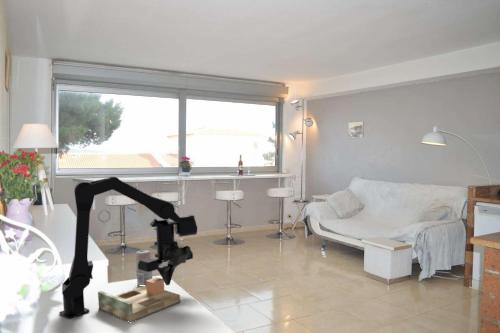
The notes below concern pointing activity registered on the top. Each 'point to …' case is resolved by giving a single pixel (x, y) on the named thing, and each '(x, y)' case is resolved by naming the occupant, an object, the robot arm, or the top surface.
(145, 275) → the energy drink
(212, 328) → the top surface
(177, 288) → the top surface
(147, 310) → the board
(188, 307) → the top surface
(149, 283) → the block
